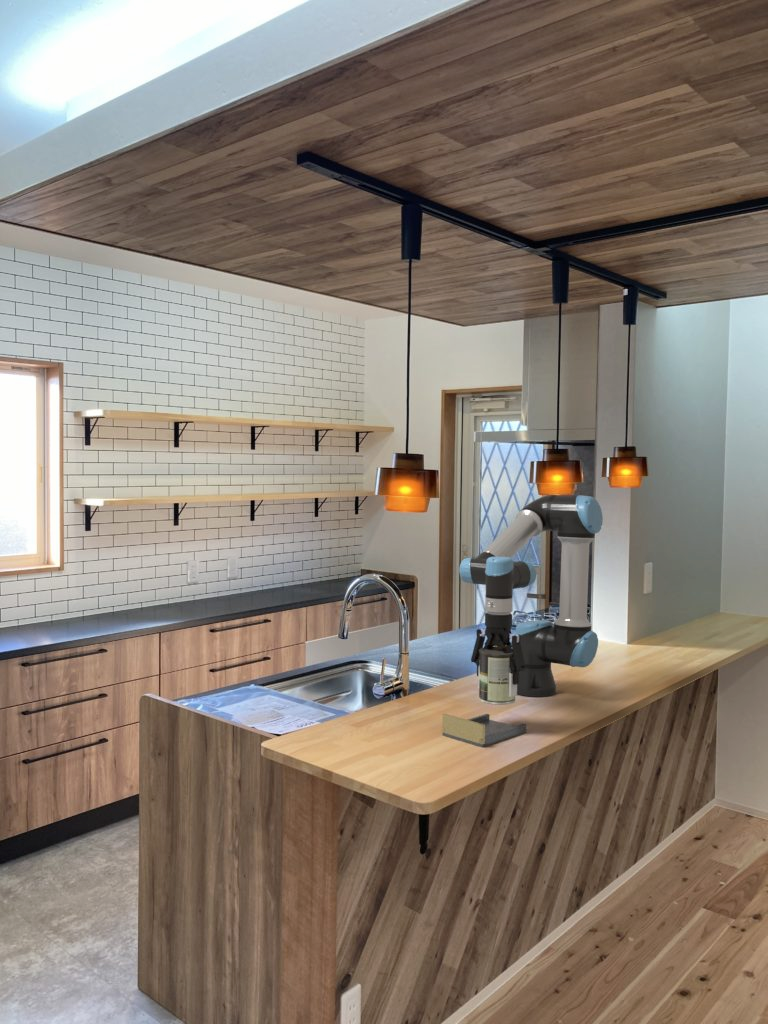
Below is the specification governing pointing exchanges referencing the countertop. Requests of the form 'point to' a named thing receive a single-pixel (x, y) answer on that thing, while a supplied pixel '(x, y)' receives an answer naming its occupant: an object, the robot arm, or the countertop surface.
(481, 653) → the coffee can
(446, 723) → the rail channel
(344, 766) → the countertop surface
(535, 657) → the robot arm
